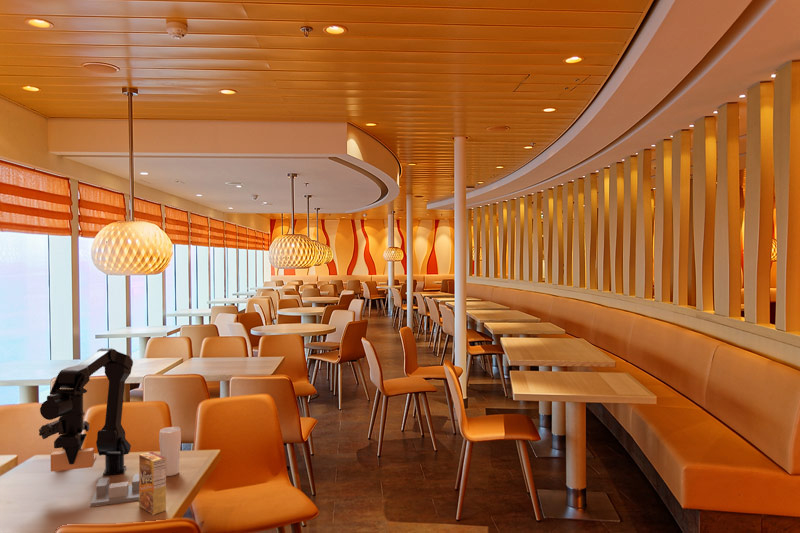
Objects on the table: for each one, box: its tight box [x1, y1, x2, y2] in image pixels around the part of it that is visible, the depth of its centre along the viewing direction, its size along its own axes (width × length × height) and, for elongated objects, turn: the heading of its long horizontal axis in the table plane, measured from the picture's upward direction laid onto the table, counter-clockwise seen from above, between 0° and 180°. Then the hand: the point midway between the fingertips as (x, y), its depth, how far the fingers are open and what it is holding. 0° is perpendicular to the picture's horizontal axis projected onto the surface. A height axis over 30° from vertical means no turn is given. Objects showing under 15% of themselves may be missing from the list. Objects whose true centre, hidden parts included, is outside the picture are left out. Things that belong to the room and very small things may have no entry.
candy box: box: [138, 451, 167, 516], centre depth 165 cm, size 9×4×15 cm, turn 50°
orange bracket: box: [50, 447, 97, 473], centre depth 175 cm, size 8×11×5 cm
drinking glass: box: [158, 426, 182, 477], centre depth 193 cm, size 7×7×15 cm
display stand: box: [90, 473, 139, 508], centre depth 175 cm, size 12×14×4 cm
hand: (72, 462), depth 173 cm, fingers closed on orange bracket, 3 cm apart
